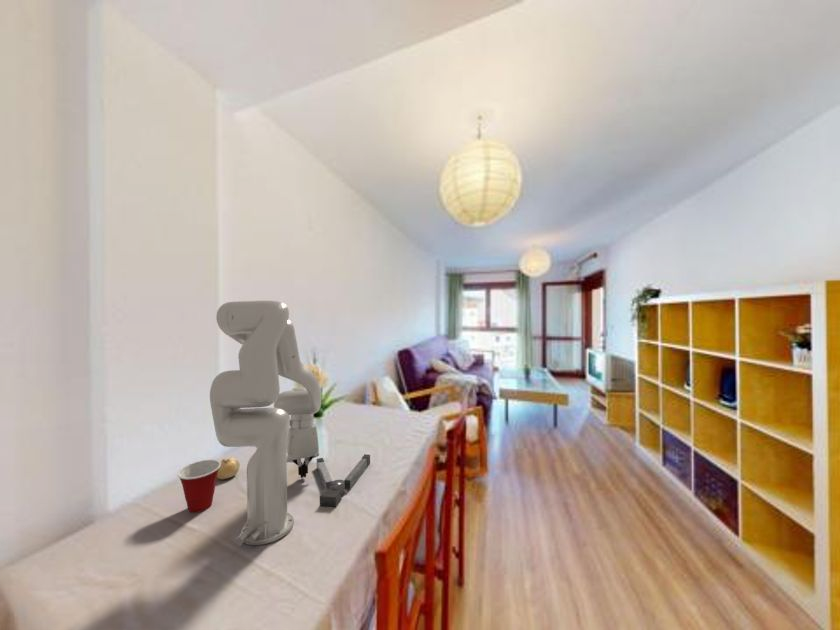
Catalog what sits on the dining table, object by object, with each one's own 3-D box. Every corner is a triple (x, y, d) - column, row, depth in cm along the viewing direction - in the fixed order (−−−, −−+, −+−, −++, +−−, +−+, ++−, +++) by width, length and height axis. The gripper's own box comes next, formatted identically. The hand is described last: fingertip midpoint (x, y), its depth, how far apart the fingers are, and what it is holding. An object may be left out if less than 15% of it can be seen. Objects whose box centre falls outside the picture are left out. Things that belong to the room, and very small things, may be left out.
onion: (208, 479, 115) (208, 459, 115) (230, 470, 122) (230, 451, 122) (223, 483, 112) (223, 462, 112) (244, 474, 119) (244, 454, 119)
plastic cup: (172, 522, 90) (171, 478, 90) (183, 502, 100) (183, 463, 100) (217, 513, 94) (217, 470, 94) (224, 495, 104) (224, 457, 104)
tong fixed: (337, 507, 95) (337, 495, 95) (319, 506, 96) (319, 494, 96) (370, 463, 125) (370, 454, 125) (356, 462, 126) (356, 454, 126)
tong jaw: (346, 496, 102) (346, 484, 102) (328, 500, 99) (328, 488, 99) (331, 465, 124) (331, 455, 124) (316, 468, 122) (316, 458, 122)
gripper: (279, 429, 107) (280, 486, 107) (326, 422, 114) (327, 475, 113) (278, 423, 114) (279, 476, 113) (322, 417, 121) (323, 467, 120)
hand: (303, 476), depth 113 cm, fingers closed
